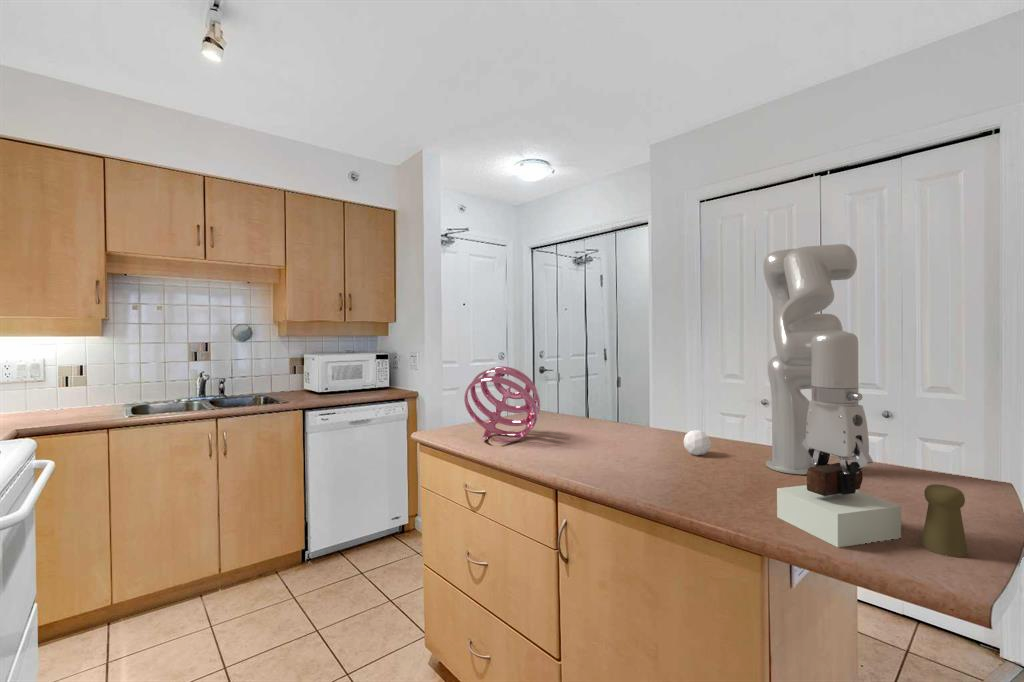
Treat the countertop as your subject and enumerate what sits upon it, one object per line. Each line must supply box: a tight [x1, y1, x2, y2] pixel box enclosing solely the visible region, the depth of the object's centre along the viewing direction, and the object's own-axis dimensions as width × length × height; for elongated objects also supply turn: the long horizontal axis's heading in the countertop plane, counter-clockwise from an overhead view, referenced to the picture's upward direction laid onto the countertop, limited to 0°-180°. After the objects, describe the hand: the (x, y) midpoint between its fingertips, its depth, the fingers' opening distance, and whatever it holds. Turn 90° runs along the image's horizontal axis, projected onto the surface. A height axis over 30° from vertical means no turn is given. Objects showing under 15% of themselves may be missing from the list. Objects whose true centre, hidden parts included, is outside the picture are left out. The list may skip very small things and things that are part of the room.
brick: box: [806, 462, 864, 496], centre depth 91 cm, size 11×4×5 cm, turn 112°
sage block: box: [776, 484, 902, 548], centre depth 91 cm, size 14×14×6 cm
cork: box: [920, 483, 969, 558], centre depth 81 cm, size 6×6×11 cm
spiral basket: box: [464, 366, 541, 444], centre depth 170 cm, size 28×28×27 cm
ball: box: [683, 429, 712, 456], centre depth 145 cm, size 8×8×8 cm
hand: (834, 487), depth 91 cm, fingers closed on brick, 4 cm apart
